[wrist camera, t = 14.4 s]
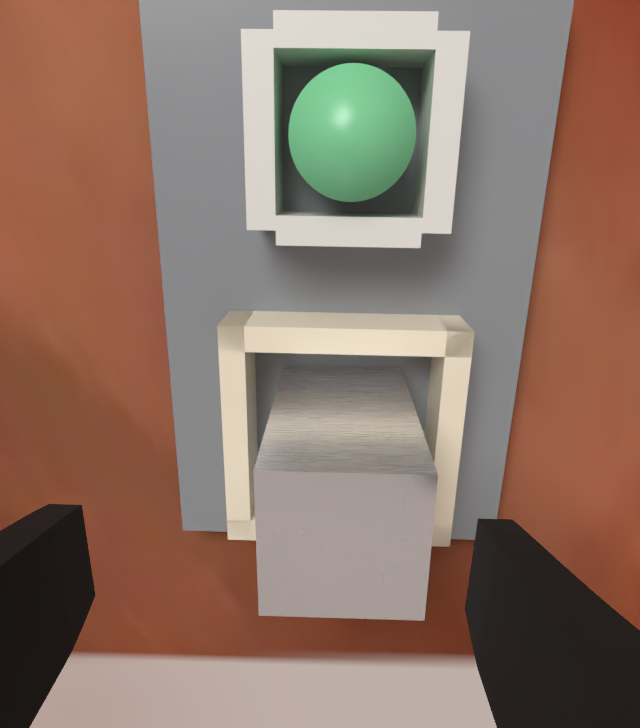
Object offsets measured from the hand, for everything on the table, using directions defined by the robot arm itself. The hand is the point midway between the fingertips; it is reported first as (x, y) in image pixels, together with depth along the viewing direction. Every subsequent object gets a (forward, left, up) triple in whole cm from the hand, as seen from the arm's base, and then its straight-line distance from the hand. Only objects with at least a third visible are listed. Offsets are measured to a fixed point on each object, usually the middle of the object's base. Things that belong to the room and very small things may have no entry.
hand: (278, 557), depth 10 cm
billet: (+1, -1, -9) cm, 9 cm away
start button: (+1, +8, -9) cm, 12 cm away
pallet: (+1, +3, -10) cm, 11 cm away
